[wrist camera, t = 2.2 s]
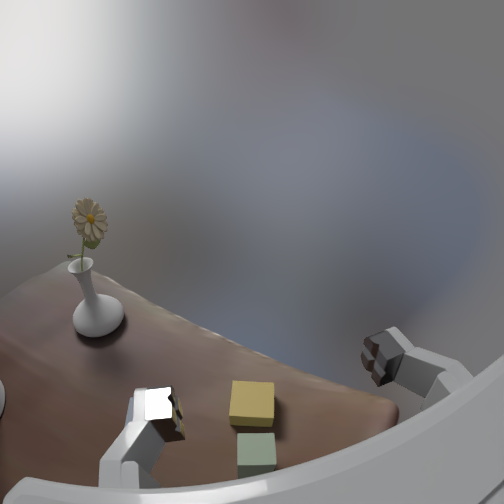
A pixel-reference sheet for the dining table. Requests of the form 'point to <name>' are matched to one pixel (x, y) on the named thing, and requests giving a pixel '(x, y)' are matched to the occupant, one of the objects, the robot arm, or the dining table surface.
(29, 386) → the dining table surface
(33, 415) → the dining table surface
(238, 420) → the mustard brick
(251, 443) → the green brick
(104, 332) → the flower in vase
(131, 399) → the slate brick
